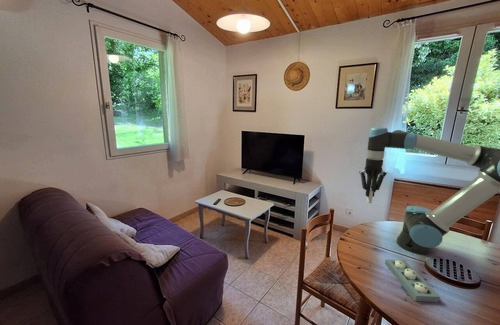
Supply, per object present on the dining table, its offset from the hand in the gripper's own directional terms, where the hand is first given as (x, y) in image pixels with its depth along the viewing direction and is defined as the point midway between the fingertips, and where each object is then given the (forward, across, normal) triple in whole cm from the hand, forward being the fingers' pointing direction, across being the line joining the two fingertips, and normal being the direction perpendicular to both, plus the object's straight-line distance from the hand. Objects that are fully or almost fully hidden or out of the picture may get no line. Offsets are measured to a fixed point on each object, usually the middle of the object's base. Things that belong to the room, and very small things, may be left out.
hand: (368, 202), depth 117 cm
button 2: (+25, -9, +25) cm, 36 cm away
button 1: (+26, -9, +18) cm, 33 cm away
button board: (+26, -9, +25) cm, 37 cm away
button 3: (+26, -9, +32) cm, 42 cm away
